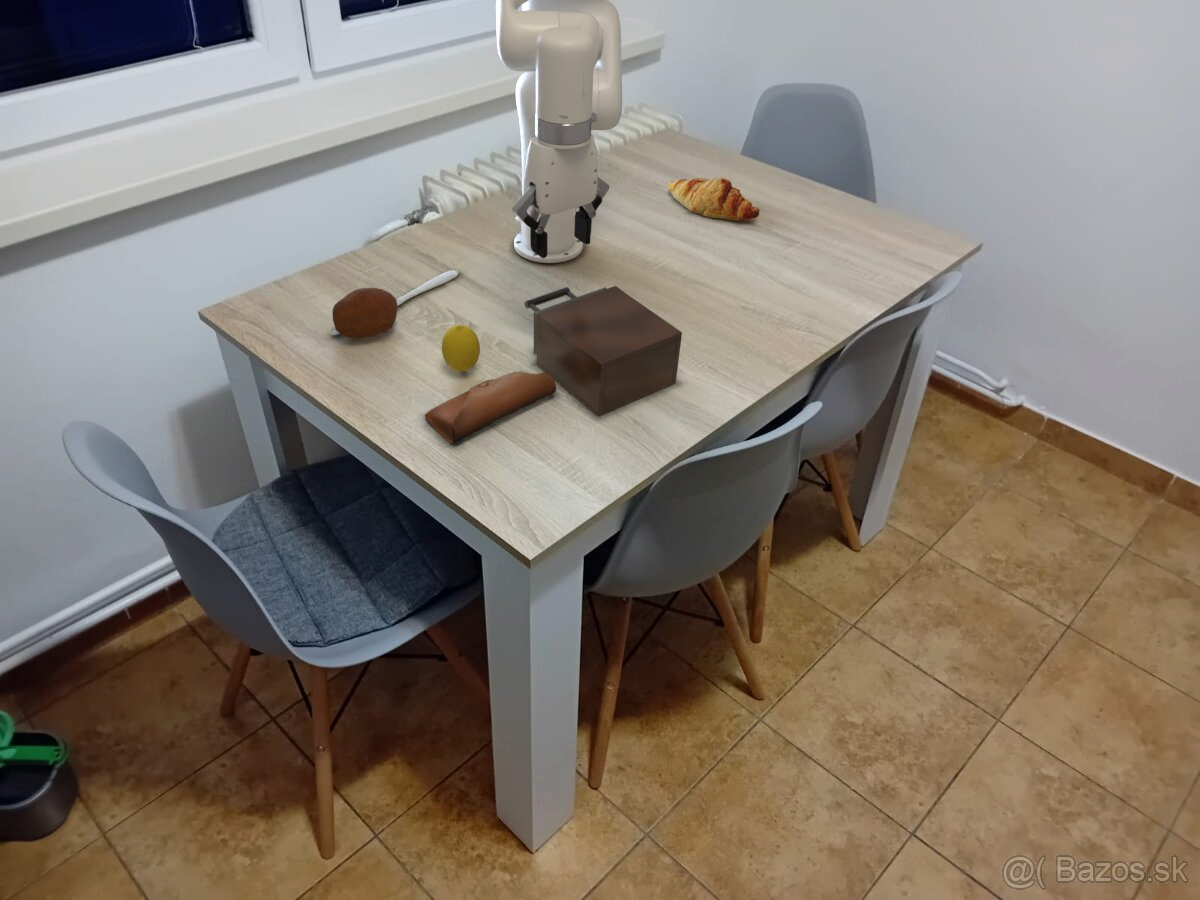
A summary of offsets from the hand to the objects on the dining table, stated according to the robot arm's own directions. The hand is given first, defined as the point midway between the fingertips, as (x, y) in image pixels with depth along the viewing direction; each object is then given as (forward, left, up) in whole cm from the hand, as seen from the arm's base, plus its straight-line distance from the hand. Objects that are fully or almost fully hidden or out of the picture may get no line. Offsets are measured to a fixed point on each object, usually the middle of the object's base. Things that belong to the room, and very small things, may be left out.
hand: (561, 246), depth 134 cm
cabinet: (+12, 0, -16) cm, 20 cm away
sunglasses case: (+10, -19, -16) cm, 27 cm away
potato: (-17, -24, -16) cm, 34 cm away
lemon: (0, -17, -16) cm, 24 cm away
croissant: (-21, +53, -16) cm, 59 cm away
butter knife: (-22, -16, -16) cm, 32 cm away
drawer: (+7, 0, -15) cm, 16 cm away
